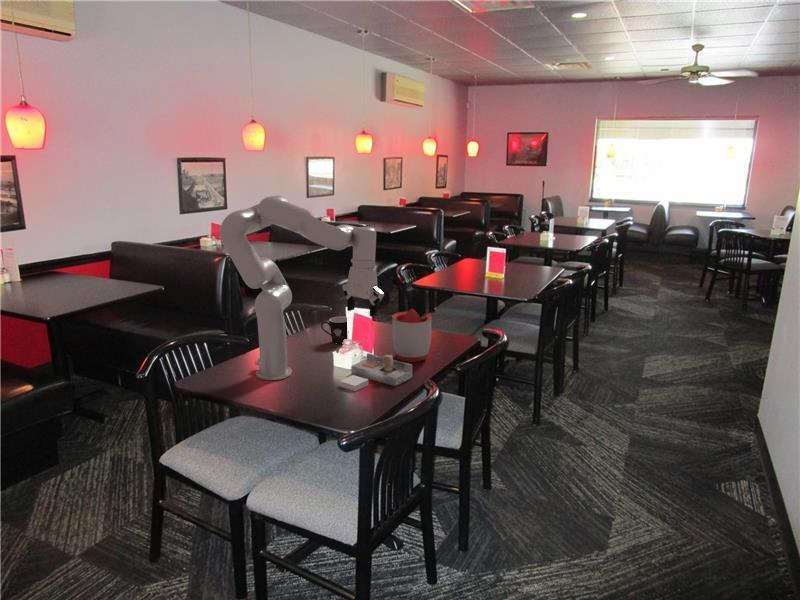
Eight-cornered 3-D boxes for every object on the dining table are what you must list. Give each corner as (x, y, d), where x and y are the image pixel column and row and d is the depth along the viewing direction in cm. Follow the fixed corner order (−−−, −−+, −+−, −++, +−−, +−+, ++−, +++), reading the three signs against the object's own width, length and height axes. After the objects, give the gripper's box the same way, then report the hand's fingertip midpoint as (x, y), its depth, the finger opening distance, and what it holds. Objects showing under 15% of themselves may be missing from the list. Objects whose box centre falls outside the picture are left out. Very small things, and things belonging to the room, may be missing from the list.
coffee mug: (354, 341, 240) (353, 318, 238) (341, 346, 233) (341, 323, 231) (332, 336, 246) (332, 314, 244) (320, 341, 239) (319, 319, 237)
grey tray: (351, 373, 204) (351, 360, 203) (368, 365, 212) (368, 353, 211) (395, 386, 193) (396, 372, 192) (412, 377, 201) (412, 364, 199)
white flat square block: (339, 386, 192) (339, 381, 192) (352, 380, 198) (352, 374, 197) (355, 391, 188) (355, 385, 188) (368, 384, 194) (368, 379, 193)
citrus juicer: (440, 355, 224) (442, 306, 220) (417, 367, 210) (418, 316, 206) (408, 347, 233) (408, 301, 228) (383, 359, 219) (383, 310, 214)
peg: (381, 377, 200) (381, 356, 198) (387, 375, 203) (387, 354, 201) (388, 379, 198) (389, 358, 196) (394, 377, 201) (394, 356, 199)
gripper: (336, 261, 190) (335, 310, 194) (377, 269, 181) (375, 320, 185) (350, 259, 196) (349, 306, 201) (391, 266, 187) (388, 315, 191)
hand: (361, 312), depth 193 cm, fingers open, 9 cm apart
